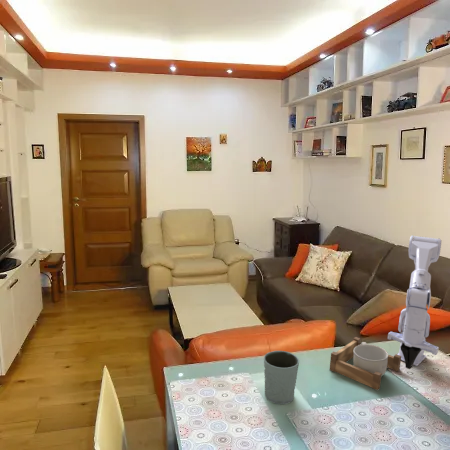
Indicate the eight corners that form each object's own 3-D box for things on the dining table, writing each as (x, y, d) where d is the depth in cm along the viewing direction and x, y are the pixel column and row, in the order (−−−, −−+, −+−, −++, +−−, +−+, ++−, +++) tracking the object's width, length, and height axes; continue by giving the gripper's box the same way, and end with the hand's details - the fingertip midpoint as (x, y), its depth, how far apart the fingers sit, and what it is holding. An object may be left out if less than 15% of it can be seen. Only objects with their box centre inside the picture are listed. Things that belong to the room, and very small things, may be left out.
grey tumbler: (298, 390, 130) (301, 354, 127) (292, 409, 120) (295, 370, 118) (266, 383, 133) (268, 347, 131) (257, 401, 124) (260, 363, 121)
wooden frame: (354, 352, 155) (355, 336, 154) (399, 369, 145) (401, 353, 143) (329, 369, 143) (331, 353, 141) (377, 390, 132) (379, 372, 131)
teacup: (388, 384, 135) (391, 361, 134) (352, 379, 137) (355, 356, 136) (381, 363, 149) (384, 341, 147) (349, 358, 151) (351, 337, 149)
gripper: (385, 323, 132) (380, 363, 135) (435, 338, 123) (429, 381, 126) (394, 316, 138) (389, 355, 140) (442, 331, 128) (436, 372, 131)
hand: (408, 367), depth 133 cm, fingers closed
